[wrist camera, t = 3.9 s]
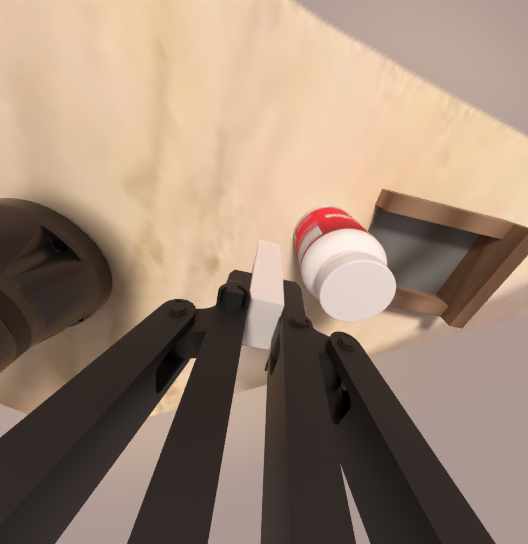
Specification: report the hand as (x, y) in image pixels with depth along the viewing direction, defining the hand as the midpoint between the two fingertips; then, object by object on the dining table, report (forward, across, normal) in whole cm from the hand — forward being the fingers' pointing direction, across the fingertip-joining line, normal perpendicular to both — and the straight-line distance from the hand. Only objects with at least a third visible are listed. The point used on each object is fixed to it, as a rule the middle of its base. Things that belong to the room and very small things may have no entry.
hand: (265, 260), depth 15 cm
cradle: (+9, +15, 0) cm, 18 cm away
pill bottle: (+9, +6, 0) cm, 11 cm away
